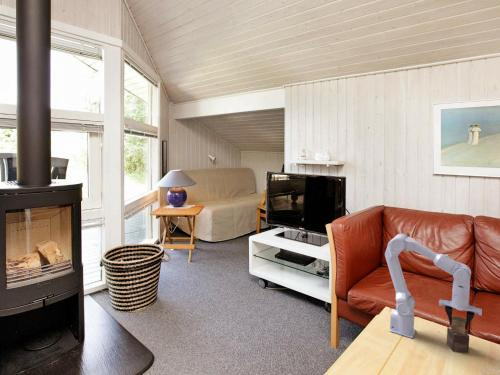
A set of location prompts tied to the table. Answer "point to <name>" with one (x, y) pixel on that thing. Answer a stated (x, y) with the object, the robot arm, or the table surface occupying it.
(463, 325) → the walnut block
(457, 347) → the box
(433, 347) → the table surface
